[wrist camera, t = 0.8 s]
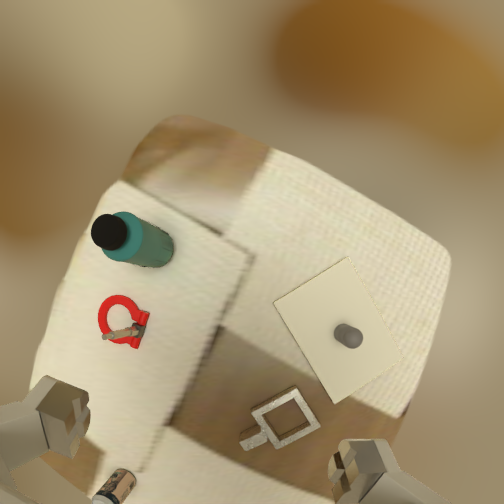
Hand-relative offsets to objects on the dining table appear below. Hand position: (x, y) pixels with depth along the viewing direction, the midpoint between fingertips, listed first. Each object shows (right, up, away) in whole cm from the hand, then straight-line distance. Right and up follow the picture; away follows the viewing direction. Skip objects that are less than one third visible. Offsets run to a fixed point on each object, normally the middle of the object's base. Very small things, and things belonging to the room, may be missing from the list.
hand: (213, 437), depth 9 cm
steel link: (+5, -23, +41) cm, 47 cm away
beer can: (-24, -39, +40) cm, 61 cm away
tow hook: (-21, -6, +44) cm, 49 cm away
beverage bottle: (-14, +6, +45) cm, 48 cm away
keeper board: (+16, -7, +42) cm, 46 cm away
